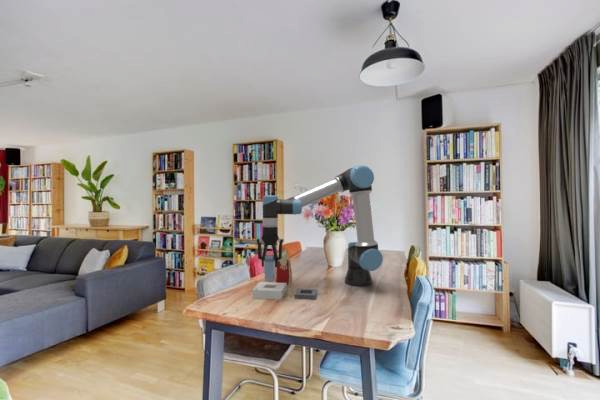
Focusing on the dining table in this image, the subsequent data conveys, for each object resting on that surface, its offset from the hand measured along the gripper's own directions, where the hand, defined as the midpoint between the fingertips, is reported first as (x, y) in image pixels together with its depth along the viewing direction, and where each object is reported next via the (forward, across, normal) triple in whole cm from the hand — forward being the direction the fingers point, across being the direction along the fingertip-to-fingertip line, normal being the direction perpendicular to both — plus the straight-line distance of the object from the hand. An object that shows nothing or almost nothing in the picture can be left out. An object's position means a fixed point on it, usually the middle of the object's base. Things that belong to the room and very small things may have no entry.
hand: (269, 273), depth 146 cm
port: (+10, 0, 0) cm, 10 cm away
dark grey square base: (+10, -18, 0) cm, 21 cm away
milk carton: (+11, -3, -19) cm, 22 cm away
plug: (+3, 0, 0) cm, 3 cm away
